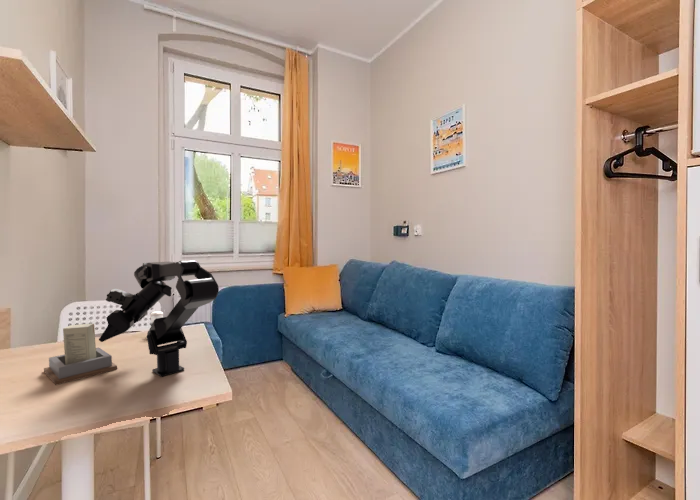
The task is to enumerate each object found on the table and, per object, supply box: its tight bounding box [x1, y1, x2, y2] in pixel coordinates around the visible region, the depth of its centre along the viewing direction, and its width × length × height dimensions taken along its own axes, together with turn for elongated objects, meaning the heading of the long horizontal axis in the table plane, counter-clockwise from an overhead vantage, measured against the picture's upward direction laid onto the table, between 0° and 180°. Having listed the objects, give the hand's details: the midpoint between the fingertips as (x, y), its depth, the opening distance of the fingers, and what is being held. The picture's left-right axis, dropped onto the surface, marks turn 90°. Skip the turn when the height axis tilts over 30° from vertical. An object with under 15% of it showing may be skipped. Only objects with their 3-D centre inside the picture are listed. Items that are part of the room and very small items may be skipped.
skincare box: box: [62, 323, 97, 365], centre depth 99 cm, size 6×4×12 cm
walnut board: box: [43, 362, 118, 386], centre depth 100 cm, size 14×14×1 cm
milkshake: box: [149, 309, 166, 324], centre depth 137 cm, size 4×5×10 cm
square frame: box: [48, 347, 113, 379], centre depth 100 cm, size 12×12×3 cm
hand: (106, 336), depth 101 cm, fingers open, 9 cm apart
